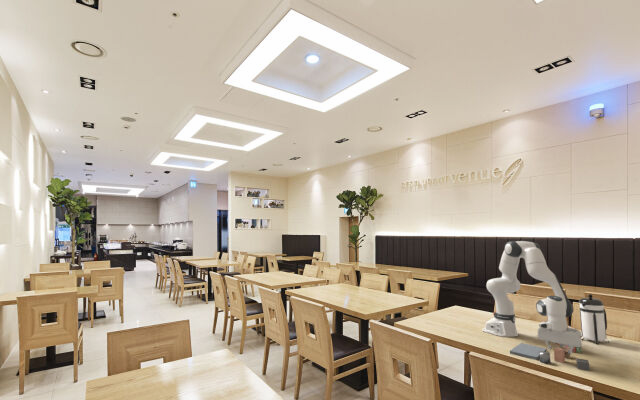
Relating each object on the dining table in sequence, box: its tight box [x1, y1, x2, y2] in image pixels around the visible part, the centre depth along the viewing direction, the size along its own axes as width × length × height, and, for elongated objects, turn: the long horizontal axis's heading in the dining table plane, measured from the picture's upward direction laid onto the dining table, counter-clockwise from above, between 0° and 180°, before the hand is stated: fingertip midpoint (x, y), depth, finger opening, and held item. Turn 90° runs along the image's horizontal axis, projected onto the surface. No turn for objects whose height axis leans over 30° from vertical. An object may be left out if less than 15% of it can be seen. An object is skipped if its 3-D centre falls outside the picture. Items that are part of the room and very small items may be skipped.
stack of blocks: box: [557, 325, 583, 353], centre depth 208 cm, size 21×6×12 cm, turn 170°
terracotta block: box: [553, 347, 566, 364], centre depth 185 cm, size 4×4×6 cm
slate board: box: [509, 342, 548, 361], centre depth 198 cm, size 14×20×2 cm
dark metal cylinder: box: [539, 351, 552, 365], centre depth 184 cm, size 5×5×5 cm
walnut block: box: [558, 347, 571, 360], centre depth 191 cm, size 5×5×4 cm
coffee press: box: [578, 293, 610, 346], centre depth 218 cm, size 17×16×30 cm
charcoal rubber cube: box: [575, 357, 591, 372], centre depth 175 cm, size 5×5×4 cm
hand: (559, 351), depth 185 cm, fingers open, 8 cm apart
